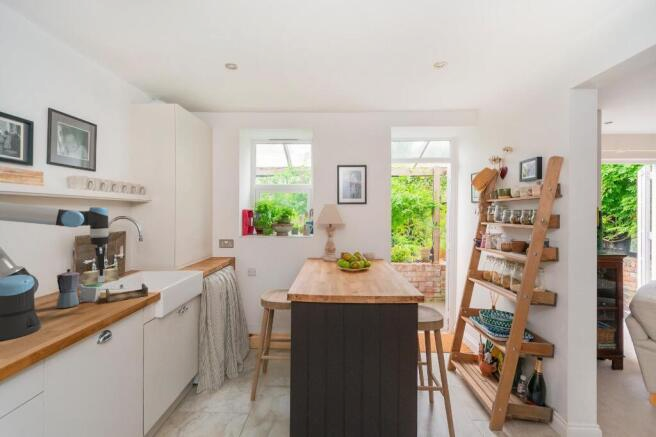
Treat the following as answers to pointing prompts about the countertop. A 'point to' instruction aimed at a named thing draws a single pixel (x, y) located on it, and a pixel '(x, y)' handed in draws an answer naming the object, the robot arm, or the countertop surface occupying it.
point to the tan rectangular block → (92, 276)
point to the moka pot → (68, 289)
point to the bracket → (89, 293)
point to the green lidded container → (93, 285)
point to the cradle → (127, 294)
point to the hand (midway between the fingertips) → (101, 280)
